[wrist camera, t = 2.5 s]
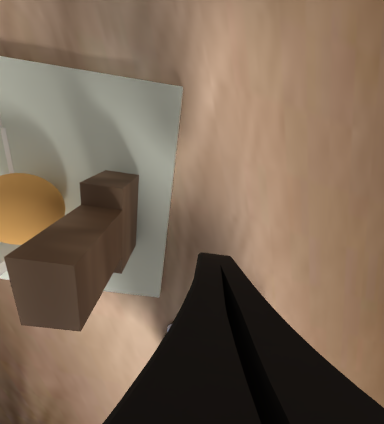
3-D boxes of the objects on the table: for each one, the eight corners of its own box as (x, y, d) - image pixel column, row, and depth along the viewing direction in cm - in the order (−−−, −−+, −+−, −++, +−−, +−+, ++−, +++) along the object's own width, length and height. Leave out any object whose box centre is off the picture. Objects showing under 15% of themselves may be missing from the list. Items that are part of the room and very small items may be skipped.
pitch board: (183, 89, 12) (182, 86, 11) (160, 290, 17) (159, 297, 16) (-94, 42, 11) (-116, 36, 10) (-22, 268, 17) (-32, 275, 16)
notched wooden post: (138, 174, 12) (71, 232, 6) (135, 245, 14) (82, 352, 7) (105, 170, 12) (-6, 223, 5) (107, 241, 14) (26, 346, 7)
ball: (76, 171, 13) (27, 190, 9) (80, 228, 14) (40, 264, 10) (10, 162, 12) (-69, 177, 9) (21, 220, 14) (-41, 254, 10)
